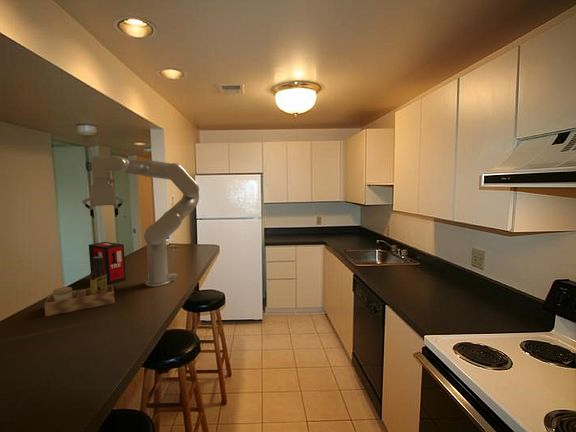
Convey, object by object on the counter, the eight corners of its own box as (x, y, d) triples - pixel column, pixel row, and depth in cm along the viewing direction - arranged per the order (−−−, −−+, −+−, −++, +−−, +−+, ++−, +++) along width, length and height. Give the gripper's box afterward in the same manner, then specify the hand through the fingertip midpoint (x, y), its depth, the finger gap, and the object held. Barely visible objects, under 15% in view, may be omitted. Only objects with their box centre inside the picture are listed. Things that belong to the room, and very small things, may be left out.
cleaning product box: (125, 280, 162) (123, 244, 160) (109, 285, 154) (107, 247, 152) (107, 276, 170) (105, 241, 168) (91, 280, 162) (88, 244, 160)
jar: (74, 303, 128) (72, 285, 127) (73, 308, 123) (71, 290, 122) (55, 307, 125) (53, 288, 124) (53, 312, 120) (52, 293, 119)
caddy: (113, 296, 138) (112, 284, 138) (114, 304, 129) (114, 291, 129) (49, 308, 126) (47, 295, 125) (45, 318, 116) (44, 304, 116)
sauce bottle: (99, 304, 127) (96, 259, 125) (87, 303, 128) (84, 258, 126) (111, 299, 133) (109, 255, 131) (99, 297, 135) (97, 255, 133)
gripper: (121, 182, 152) (124, 215, 153) (80, 182, 142) (83, 217, 144) (123, 182, 145) (125, 216, 147) (80, 182, 136) (83, 219, 138)
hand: (104, 217), depth 146 cm, fingers open, 9 cm apart
